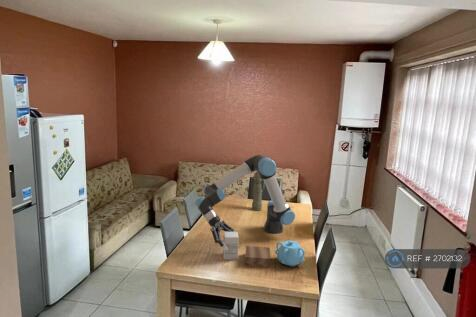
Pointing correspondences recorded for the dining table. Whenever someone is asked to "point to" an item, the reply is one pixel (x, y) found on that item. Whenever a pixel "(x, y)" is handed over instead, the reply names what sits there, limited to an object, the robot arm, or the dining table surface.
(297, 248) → the decorative pot
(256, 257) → the walnut block
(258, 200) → the thermos
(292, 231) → the dining table surface
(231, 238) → the supplement box
